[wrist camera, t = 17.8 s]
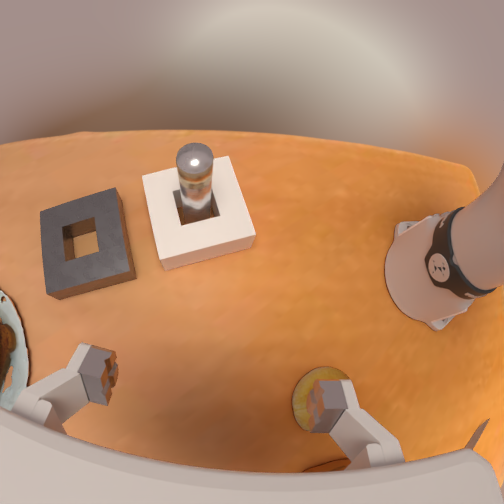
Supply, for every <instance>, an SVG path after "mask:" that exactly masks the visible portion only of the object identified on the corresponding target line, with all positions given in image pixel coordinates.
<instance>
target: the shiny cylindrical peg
mask: <svg viewBox="0 0 504 504" xmlns="http://www.w3.org/2000/svg"><path fill="white" fill-rule="evenodd" d="M176 164H177V172H178V179H179V184H180V192H181V200H182V207H183V214H184V221H185V225H186V224H190V223H194V222H198V221H202V220H206V219H210V208H211V186H212V175H213V153H212V151H211V149H210V148H209V147H207V146H206V145H204V144H201V143H190V144H187V145H185V146H183V147H182V148H181V149H180V150H179V151H178V153H177V157H176Z"/></svg>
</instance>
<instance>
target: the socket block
mask: <svg viewBox="0 0 504 504" xmlns="http://www.w3.org/2000/svg"><path fill="white" fill-rule="evenodd" d="M40 225H41V244H42V257H43V268H44V277H45V285H46V293H47V294H48V295H50V296H52V297H54V298H56V299H59V300H61V299H64V298H68V297H72V296H75V295H79V294H82V293H86V292H90V291H93V290H97V289H101V288H104V287H108V286H112V285H115V284H119V283H123V282H126V281H130V280H134V279H137V278H136V273H135V269H134V264H133V259H132V254H131V249H130V244H129V239H128V234H127V228H126V222H125V217H124V211H123V204H122V200H121V198H120V196H119V194H118V192H117V190H116V187H115V188H112V189H108V190H105V191H102V192H98V193H95V194H92V195H89V196H85V197H82V198H79V199H76V200H73V201H70V202H67V203H64V204H61V205H58V206H55V207H52V208H49V209H46V210H44V211H41V212H40ZM92 231H96V233H97V240H98V247H99V252H96V253H93V254H89V255H86V256H83V257H79V258H76V259H75V255H74V247H73V237H76V236H79V235H83V234H86V233H89V232H92Z"/></svg>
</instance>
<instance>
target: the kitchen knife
mask: <svg viewBox="0 0 504 504" xmlns="http://www.w3.org/2000/svg"><path fill="white" fill-rule="evenodd" d="M489 419H490V418H489ZM489 419H488V420H486V421H485V422H484V423H483V424H482V425H481V426H480V427H479V428H478V429H477V430H476V432H475V433H474V434H473V436H472V438H471V439H470V441H469V442H468V444H467V445H466V447H465V448H469V449H472V450H473V448H474V447H475V445H476V443H477V441H478V440H479V438H480V436H481V434H482V432H483V431H484V429H485V427H486V425H487V423H488V421H489Z"/></svg>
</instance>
